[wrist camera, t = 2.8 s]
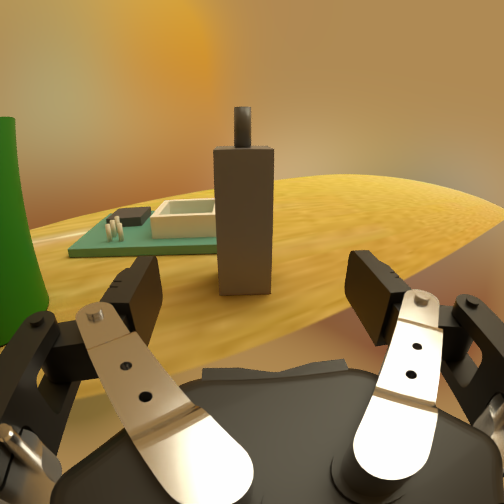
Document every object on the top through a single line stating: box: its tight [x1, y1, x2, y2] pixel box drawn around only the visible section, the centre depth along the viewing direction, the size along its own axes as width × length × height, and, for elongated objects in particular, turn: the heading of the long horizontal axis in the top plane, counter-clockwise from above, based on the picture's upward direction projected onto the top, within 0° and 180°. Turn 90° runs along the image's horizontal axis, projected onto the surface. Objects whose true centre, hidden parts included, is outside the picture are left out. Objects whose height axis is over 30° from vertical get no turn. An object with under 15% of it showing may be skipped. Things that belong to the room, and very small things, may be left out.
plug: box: [213, 107, 274, 295], centre depth 22 cm, size 4×5×14 cm
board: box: [68, 198, 217, 257], centre depth 35 cm, size 20×14×4 cm
